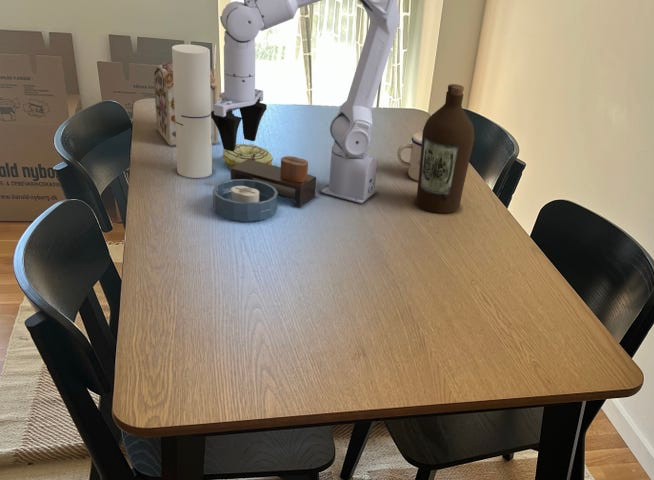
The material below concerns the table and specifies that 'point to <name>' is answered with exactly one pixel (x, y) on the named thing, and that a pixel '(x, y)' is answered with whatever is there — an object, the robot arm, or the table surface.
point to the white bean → (244, 194)
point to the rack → (276, 181)
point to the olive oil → (445, 155)
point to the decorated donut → (246, 155)
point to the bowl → (241, 209)
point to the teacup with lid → (413, 155)
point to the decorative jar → (166, 103)
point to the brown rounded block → (294, 169)
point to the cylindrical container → (192, 110)
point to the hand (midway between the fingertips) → (239, 144)
